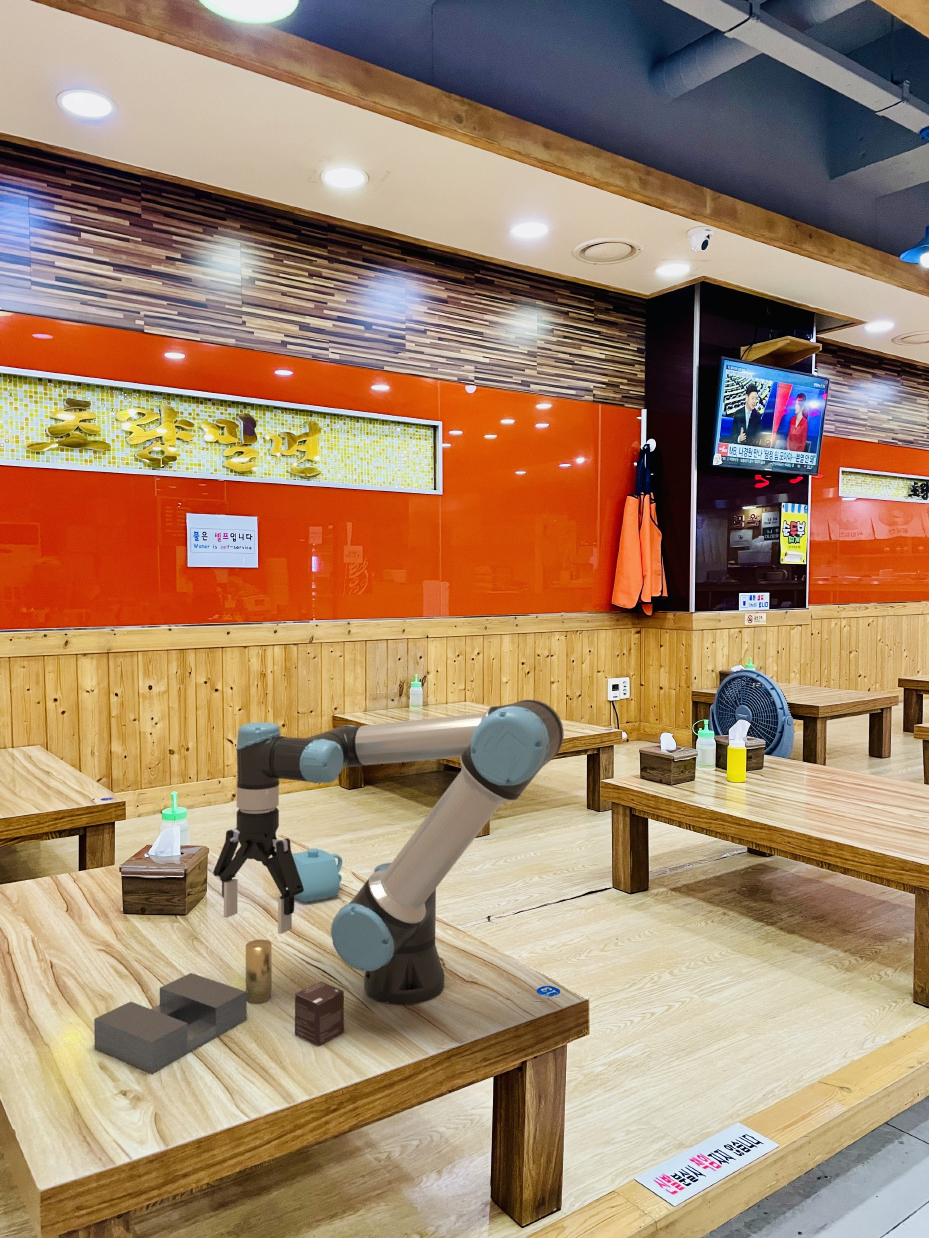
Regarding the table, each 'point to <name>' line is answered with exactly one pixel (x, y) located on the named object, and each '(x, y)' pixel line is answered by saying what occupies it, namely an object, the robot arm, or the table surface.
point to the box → (319, 1013)
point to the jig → (170, 1022)
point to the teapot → (318, 874)
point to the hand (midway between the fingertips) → (257, 923)
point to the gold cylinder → (258, 971)
